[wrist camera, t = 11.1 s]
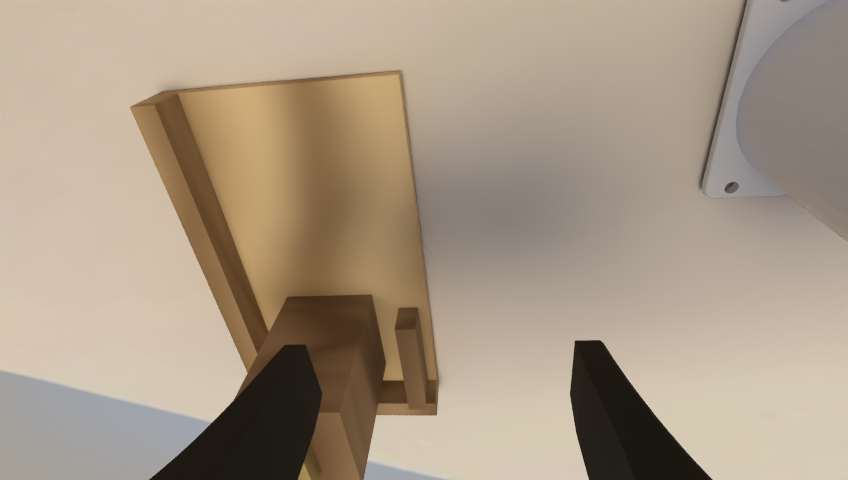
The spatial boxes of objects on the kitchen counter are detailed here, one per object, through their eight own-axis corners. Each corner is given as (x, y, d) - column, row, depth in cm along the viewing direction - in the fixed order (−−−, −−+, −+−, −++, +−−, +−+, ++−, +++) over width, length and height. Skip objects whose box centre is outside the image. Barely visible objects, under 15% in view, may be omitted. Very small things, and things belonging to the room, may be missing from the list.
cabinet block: (372, 294, 23) (334, 431, 17) (386, 363, 26) (358, 504, 19) (287, 296, 24) (218, 430, 17) (309, 363, 26) (257, 501, 20)
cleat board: (400, 71, 18) (392, 85, 16) (438, 383, 27) (436, 415, 25) (162, 91, 19) (129, 107, 17) (279, 383, 29) (266, 413, 27)
